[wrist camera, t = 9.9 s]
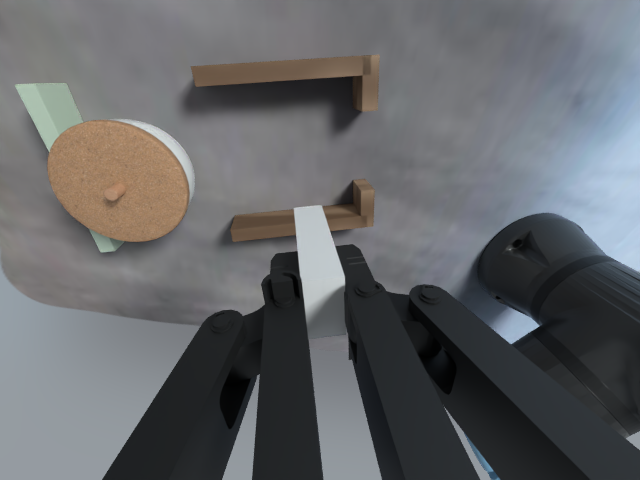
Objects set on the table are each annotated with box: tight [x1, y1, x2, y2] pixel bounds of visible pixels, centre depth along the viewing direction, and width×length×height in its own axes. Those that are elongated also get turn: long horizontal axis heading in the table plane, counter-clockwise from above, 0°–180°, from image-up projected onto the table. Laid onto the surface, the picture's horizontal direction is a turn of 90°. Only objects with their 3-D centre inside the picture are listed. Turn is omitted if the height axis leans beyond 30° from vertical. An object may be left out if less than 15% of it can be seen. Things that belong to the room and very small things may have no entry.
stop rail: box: [15, 83, 125, 253], centre depth 29 cm, size 16×2×4 cm, turn 3°
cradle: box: [191, 55, 379, 242], centre depth 31 cm, size 17×16×4 cm
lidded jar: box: [47, 119, 195, 242], centre depth 27 cm, size 11×11×9 cm
